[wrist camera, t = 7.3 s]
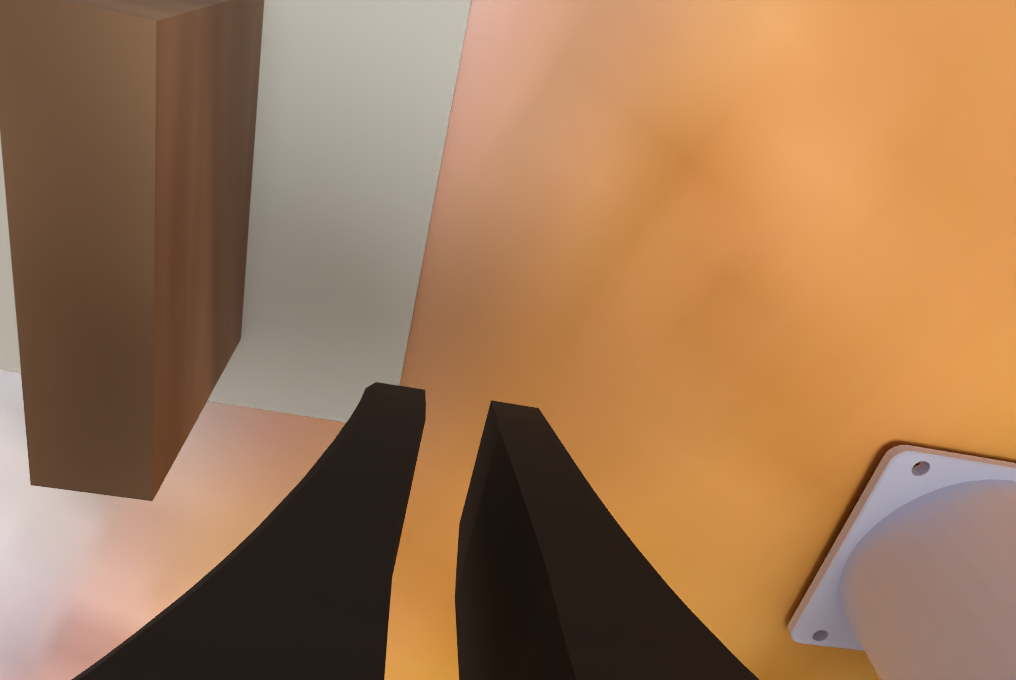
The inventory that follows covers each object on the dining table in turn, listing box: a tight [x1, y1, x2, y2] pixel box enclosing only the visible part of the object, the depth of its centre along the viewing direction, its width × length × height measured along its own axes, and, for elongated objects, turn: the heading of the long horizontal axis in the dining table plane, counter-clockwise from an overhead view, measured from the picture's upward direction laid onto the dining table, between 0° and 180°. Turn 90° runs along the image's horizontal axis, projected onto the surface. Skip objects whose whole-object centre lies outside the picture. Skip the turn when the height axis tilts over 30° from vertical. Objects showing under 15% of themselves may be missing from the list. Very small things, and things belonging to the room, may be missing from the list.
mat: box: [0, 0, 471, 423], centre depth 15 cm, size 16×16×1 cm
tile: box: [0, 0, 264, 501], centre depth 14 cm, size 2×8×6 cm, turn 167°
